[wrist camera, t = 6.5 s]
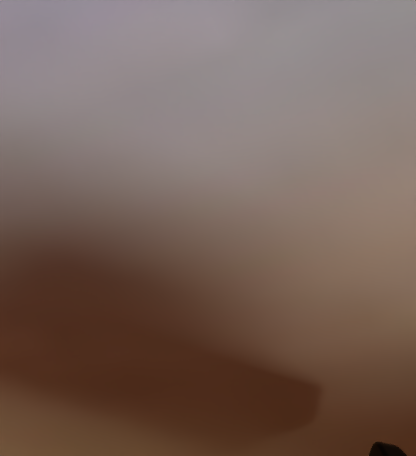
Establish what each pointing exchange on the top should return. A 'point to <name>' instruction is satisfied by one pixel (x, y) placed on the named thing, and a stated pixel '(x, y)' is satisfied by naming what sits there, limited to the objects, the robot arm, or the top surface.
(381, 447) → the robot arm
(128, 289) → the top surface
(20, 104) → the top surface
